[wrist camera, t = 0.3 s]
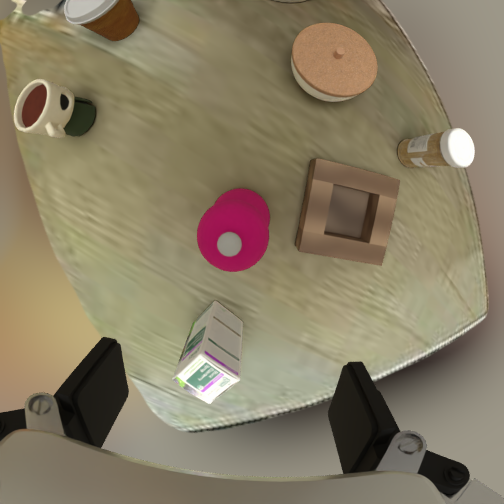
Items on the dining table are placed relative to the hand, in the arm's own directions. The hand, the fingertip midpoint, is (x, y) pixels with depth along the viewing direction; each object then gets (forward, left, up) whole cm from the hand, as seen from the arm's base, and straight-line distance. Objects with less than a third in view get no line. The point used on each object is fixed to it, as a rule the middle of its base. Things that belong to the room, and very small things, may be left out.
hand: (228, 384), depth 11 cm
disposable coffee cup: (-32, -26, -31) cm, 52 cm away
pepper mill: (-3, -1, -31) cm, 31 cm away
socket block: (-6, +13, -30) cm, 33 cm away
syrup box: (+14, -2, -31) cm, 34 cm away
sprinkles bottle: (-17, +22, -31) cm, 41 cm away
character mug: (-15, -29, -31) cm, 45 cm away
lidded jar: (-25, +7, -31) cm, 40 cm away
